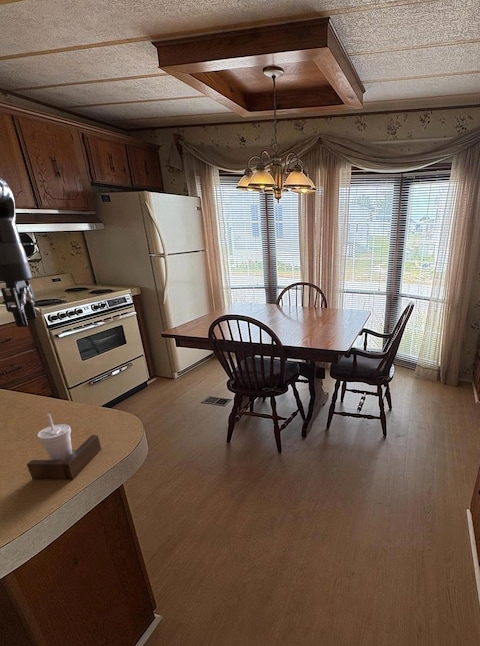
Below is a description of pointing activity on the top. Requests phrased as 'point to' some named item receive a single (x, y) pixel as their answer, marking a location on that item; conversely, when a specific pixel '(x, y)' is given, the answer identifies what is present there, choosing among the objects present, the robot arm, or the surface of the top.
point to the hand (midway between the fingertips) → (27, 322)
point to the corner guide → (65, 463)
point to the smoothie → (56, 440)
